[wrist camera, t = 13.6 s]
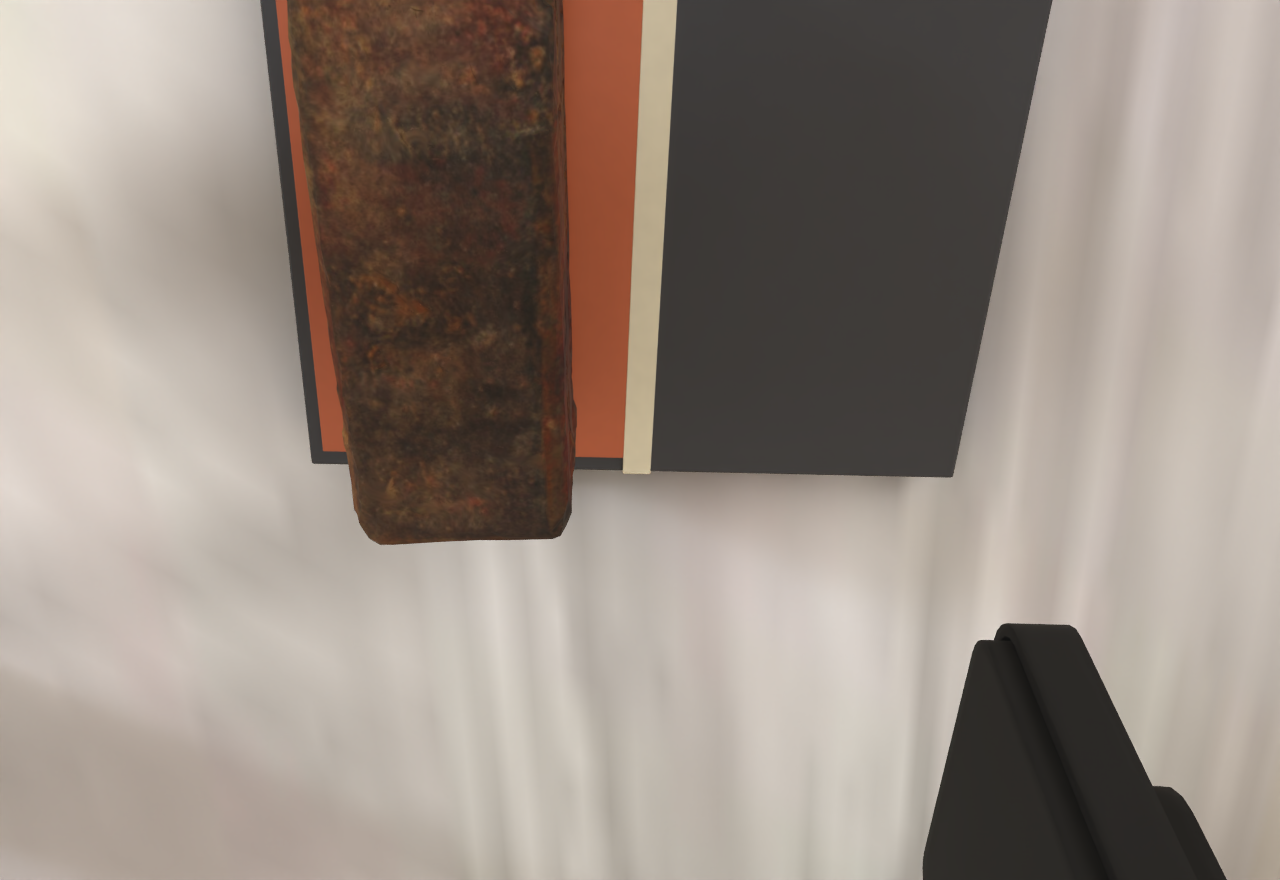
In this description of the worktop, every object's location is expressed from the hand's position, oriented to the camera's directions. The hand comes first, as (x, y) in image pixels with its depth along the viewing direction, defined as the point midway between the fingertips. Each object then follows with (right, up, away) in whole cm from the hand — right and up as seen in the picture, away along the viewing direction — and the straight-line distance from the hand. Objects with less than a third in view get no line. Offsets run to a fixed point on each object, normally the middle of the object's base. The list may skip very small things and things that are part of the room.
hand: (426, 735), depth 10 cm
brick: (-1, +8, +13) cm, 15 cm away
